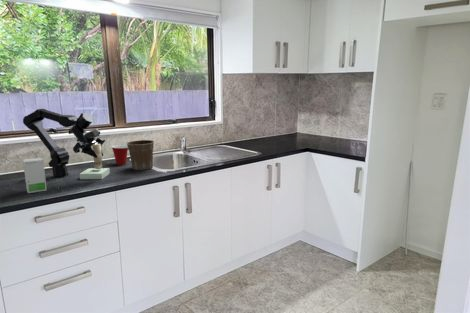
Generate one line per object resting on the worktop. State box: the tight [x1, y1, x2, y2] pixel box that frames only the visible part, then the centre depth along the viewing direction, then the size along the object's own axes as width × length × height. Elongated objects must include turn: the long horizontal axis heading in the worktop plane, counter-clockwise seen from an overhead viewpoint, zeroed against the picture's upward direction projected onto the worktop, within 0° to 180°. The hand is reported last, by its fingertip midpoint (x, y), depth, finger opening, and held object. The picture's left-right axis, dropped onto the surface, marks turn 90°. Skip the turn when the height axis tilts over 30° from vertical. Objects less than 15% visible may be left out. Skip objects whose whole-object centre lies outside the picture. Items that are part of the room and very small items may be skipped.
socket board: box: [79, 167, 111, 180], centre depth 184 cm, size 12×12×3 cm
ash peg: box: [92, 144, 103, 169], centre depth 174 cm, size 4×4×13 cm
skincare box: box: [22, 157, 48, 194], centre depth 159 cm, size 8×7×16 cm
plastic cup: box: [111, 144, 129, 166], centre depth 210 cm, size 11×11×12 cm
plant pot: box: [126, 139, 155, 171], centre depth 200 cm, size 16×16×16 cm
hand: (99, 156), depth 174 cm, fingers closed on ash peg, 4 cm apart
